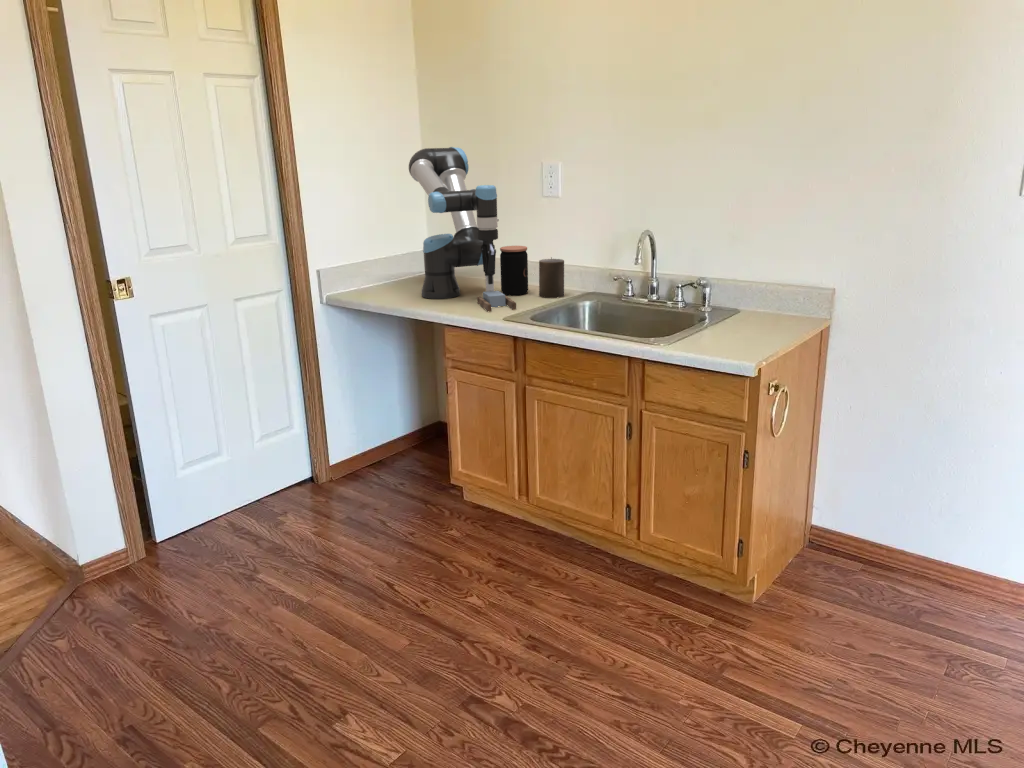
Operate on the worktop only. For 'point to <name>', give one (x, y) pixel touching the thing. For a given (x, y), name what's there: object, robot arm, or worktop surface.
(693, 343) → the worktop surface
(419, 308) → the worktop surface
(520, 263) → the coffee jar
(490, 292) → the slate block
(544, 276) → the pillar candle
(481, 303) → the walnut channel
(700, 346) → the worktop surface
